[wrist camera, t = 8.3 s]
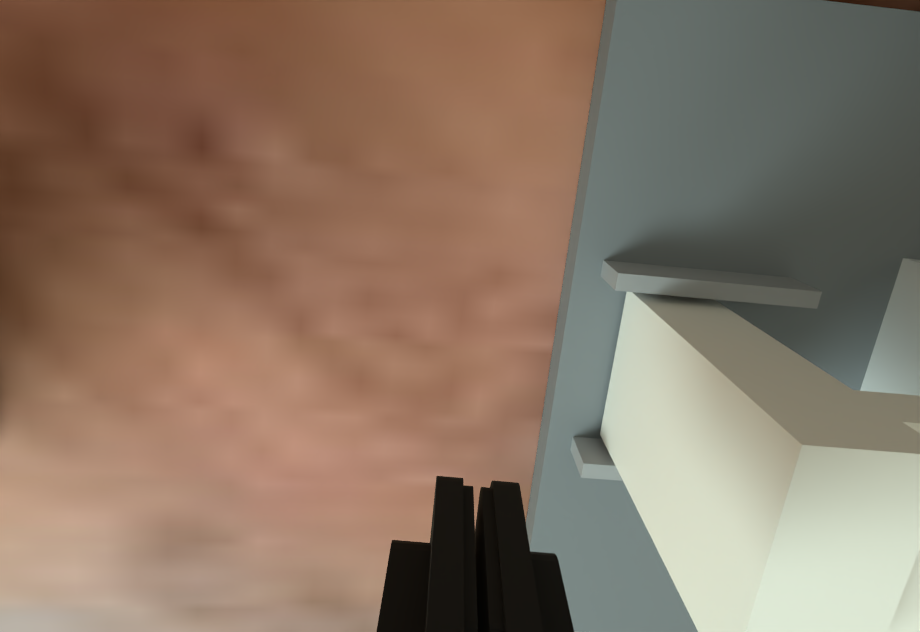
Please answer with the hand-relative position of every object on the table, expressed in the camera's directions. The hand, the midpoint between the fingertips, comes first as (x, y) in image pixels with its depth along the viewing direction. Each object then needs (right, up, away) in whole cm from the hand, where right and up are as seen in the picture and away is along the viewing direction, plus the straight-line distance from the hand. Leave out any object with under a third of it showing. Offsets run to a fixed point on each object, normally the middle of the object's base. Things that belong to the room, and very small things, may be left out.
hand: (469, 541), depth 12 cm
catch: (+9, +2, +11) cm, 14 cm away
